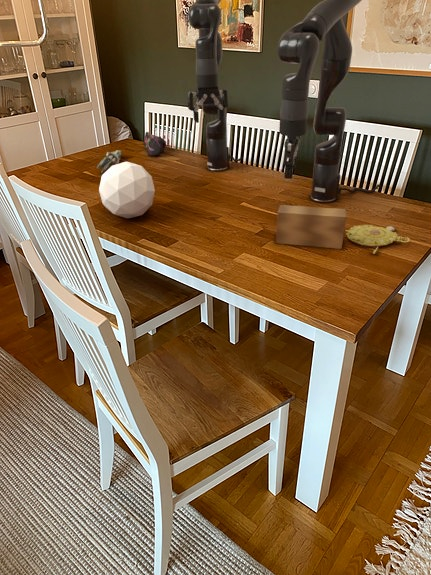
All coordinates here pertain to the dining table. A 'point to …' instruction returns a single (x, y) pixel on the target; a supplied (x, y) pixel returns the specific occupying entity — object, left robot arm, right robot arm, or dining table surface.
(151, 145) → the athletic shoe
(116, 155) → the figurine
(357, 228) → the decorative object
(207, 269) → the dining table surface
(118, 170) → the sphere
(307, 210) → the box
